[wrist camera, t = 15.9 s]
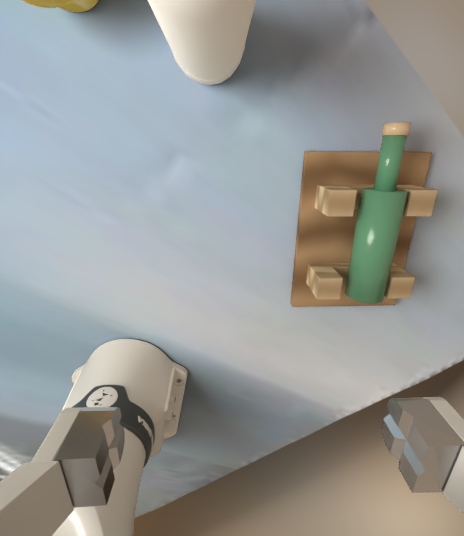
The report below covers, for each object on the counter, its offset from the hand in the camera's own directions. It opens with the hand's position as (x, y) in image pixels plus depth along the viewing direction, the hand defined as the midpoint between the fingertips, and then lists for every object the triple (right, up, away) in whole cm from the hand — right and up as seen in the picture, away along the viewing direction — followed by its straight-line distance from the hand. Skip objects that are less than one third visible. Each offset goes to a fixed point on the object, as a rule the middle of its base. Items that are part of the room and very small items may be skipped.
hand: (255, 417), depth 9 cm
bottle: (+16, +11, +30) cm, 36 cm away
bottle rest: (+16, +9, +34) cm, 39 cm away
